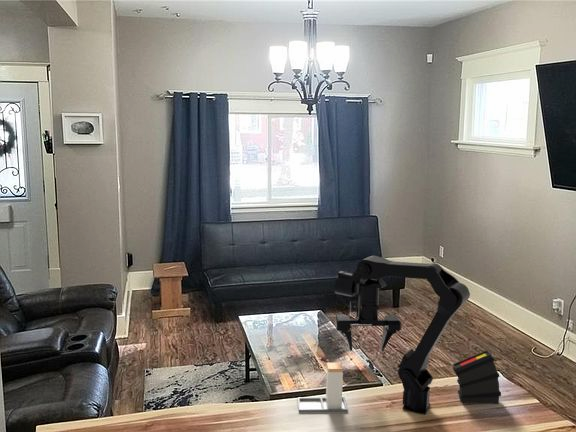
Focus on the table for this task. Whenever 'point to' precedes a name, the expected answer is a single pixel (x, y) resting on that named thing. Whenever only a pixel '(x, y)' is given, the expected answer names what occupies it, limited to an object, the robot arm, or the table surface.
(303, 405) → the organiser
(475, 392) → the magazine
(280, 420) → the table surface
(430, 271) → the robot arm
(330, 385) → the block
